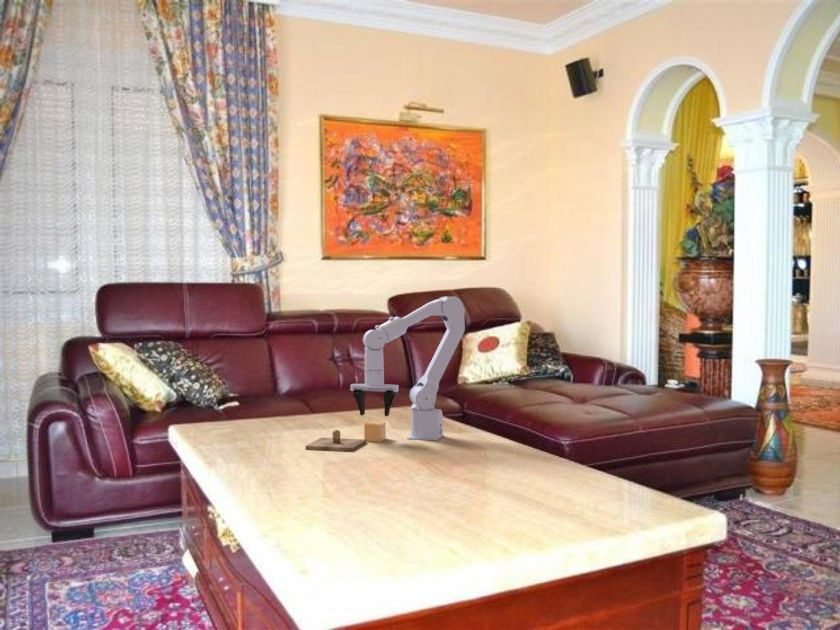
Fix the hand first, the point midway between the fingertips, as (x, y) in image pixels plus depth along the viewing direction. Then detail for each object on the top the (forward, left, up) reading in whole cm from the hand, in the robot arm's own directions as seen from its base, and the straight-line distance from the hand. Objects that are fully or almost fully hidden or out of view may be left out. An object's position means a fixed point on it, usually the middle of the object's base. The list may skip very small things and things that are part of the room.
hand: (374, 415), depth 221 cm
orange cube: (0, 0, -7) cm, 7 cm away
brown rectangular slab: (+8, +11, -7) cm, 15 cm away
